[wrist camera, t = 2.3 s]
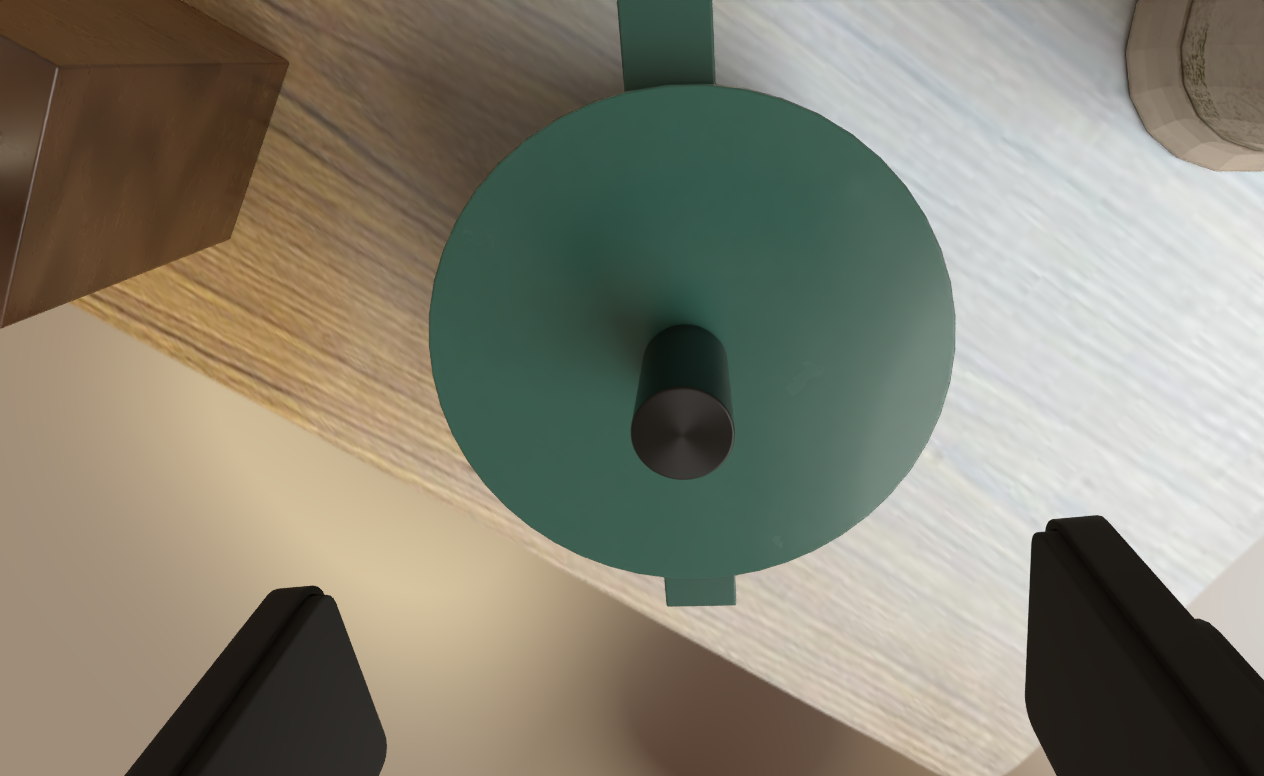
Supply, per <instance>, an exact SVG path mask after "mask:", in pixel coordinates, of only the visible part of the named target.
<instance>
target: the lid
mask: <svg viewBox="0 0 1264 776" xmlns="http://www.w3.org/2000/svg"><path fill="white" fill-rule="evenodd" d="M429 350H430V357H431V365H432V373H433V378H434V382H435V386H436V390H437V393H438V397H439V401H440V405H441V408H442V410H443V413H444V415H445V418H446V420H447V422H448V425H449V427H450V430H451V432H452V434H453V436H454V438H455V440H456V442H457V443H458V445H459V447H460V449H461V450H462V452H463V454H464V456H465V457H466V459H467V461H468V462H469V464H470V465H471V466H472V468H473V469H474V470H475V472H476V473H477V474H478V476H479V477H480V478H481V480H482V481H483V482H484V484H485V485H486V486H487V487H488V488H489V489H490V490H491V491H492V493H493V494H494V495H495V496H496V497H497V498H498V499H499V500H500V501H501V502H502V503H503V504H504V505H505V506H506V507H507V508H508V509H509V510H511V511H512V512H513V513H514V514H515V515H517V516H518V517H519V518H520V519H521V520H523V521H524V522H525V523H526V524H527V525H529V526H530V527H531V528H533V529H535V530H536V531H538V532H539V533H541V534H542V535H544V536H545V537H547V538H548V539H550V540H551V541H553V542H555V543H556V544H558V545H560V546H562V547H564V548H566V549H568V550H570V551H572V552H574V553H576V554H578V555H580V556H583V557H585V558H588V559H591V560H594V561H596V562H599V563H602V564H604V565H607V566H610V567H614V568H618V569H622V570H626V571H630V572H634V573H638V574H644V575H652V576H659V577H666V578H690V579H702V578H715V577H728V576H733V575H739V574H744V573H749V572H755V571H760V570H763V569H766V568H769V567H773V566H776V565H779V564H783V563H786V562H789V561H791V560H793V559H796V558H798V557H800V556H803V555H805V554H807V553H810V552H812V551H814V550H816V549H818V548H820V547H822V546H823V545H825V544H827V543H829V542H830V541H832V540H834V539H836V538H837V537H839V536H841V535H843V534H844V533H845V532H847V531H848V530H849V529H851V528H852V527H853V526H855V525H856V524H857V523H859V522H860V521H861V520H863V519H864V518H865V517H867V516H868V515H869V514H870V513H871V512H872V511H873V510H874V509H875V508H876V507H878V506H879V505H880V504H881V503H882V502H883V501H884V500H885V499H886V498H887V497H888V496H889V495H890V494H891V493H892V492H893V491H894V489H895V488H896V487H897V486H898V484H899V483H900V482H901V481H902V480H903V478H904V477H905V476H906V475H907V474H908V472H909V471H910V470H911V468H912V467H913V465H914V463H915V462H916V460H917V459H918V457H919V455H920V454H921V452H922V451H923V449H924V447H925V446H926V444H927V443H928V440H929V438H930V436H931V434H932V432H933V429H934V427H935V425H936V423H937V421H938V418H939V416H940V414H941V411H942V407H943V404H944V401H945V397H946V394H947V391H948V387H949V384H950V380H951V373H952V366H953V360H954V353H955V310H954V302H953V295H952V288H951V281H950V278H949V275H948V271H947V268H946V264H945V261H944V258H943V254H942V251H941V248H940V246H939V243H938V241H937V239H936V237H935V235H934V233H933V230H932V228H931V226H930V224H929V222H928V220H927V217H926V216H925V214H924V213H923V211H922V210H921V208H920V207H919V205H918V204H917V202H916V200H915V199H914V197H913V196H912V194H911V193H910V191H909V190H908V188H907V187H906V186H905V184H904V183H903V182H902V181H901V180H900V179H899V178H898V177H897V175H896V174H895V173H894V172H893V171H892V170H891V169H890V168H889V166H888V165H887V164H886V163H885V162H884V161H883V160H882V159H881V158H880V157H879V156H878V155H877V154H875V153H874V152H873V151H872V150H871V149H869V148H868V147H867V146H866V145H865V144H863V143H862V142H861V141H860V140H859V139H857V138H856V137H855V136H854V135H853V134H851V133H849V132H848V131H846V130H844V129H843V128H841V127H840V126H838V125H836V124H835V123H833V122H831V121H830V120H828V119H827V118H825V117H823V116H822V115H820V114H818V113H816V112H813V111H811V110H809V109H806V108H804V107H802V106H799V105H797V104H795V103H792V102H790V101H788V100H785V99H783V98H780V97H776V96H773V95H769V94H765V93H762V92H758V91H754V90H750V89H747V88H741V87H732V86H724V85H716V84H708V83H698V84H665V85H659V86H653V87H646V88H640V89H634V90H629V91H626V92H623V93H619V94H616V95H613V96H609V97H606V98H603V99H600V100H596V101H594V102H591V103H589V104H587V105H585V106H583V107H581V108H578V109H576V110H574V111H572V112H570V113H568V114H566V115H564V116H561V117H559V118H557V119H556V120H554V121H553V122H551V123H550V124H548V125H547V126H545V127H544V128H542V129H540V130H539V131H537V132H536V133H534V134H533V135H531V136H530V137H528V138H527V139H525V140H524V141H523V142H522V143H521V144H520V145H519V146H517V147H516V148H515V149H514V150H513V151H512V152H511V153H509V154H508V155H507V156H506V157H505V158H504V159H503V160H501V161H500V162H499V163H498V164H497V166H496V167H495V168H494V169H493V170H492V171H491V173H490V174H489V175H488V176H487V177H486V178H485V180H484V181H483V182H482V183H481V184H480V185H479V187H478V188H477V189H476V190H475V192H474V193H473V195H472V196H471V198H470V200H469V201H468V203H467V204H466V206H465V207H464V209H463V211H462V212H461V214H460V215H459V217H458V218H457V220H456V223H455V225H454V227H453V229H452V231H451V234H450V236H449V238H448V240H447V242H446V245H445V247H444V249H443V252H442V255H441V259H440V262H439V266H438V269H437V272H436V276H435V279H434V284H433V291H432V298H431V304H430V311H429Z"/></svg>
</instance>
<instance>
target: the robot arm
mask: <svg viewBox="0 0 1264 776" xmlns="http://www.w3.org/2000/svg"><path fill="white" fill-rule="evenodd" d="M1025 702H1026V709H1027V713H1028V717H1029V720H1030V723H1031V725H1032V727H1033V730H1034V732H1035V734H1036V736H1037V738H1038V740H1039V742H1040V744H1041V746H1042V748H1043V749H1044V751H1045V753H1046V756H1047V758H1048V760H1049V761H1050V763H1051V765H1052V767H1053V769H1054V771H1055V773H1056V775H1057V776H1264V680H1263V679H1262V678H1261V677H1260V676H1259V675H1258V673H1257V672H1256V671H1255V670H1254V669H1253V668H1252V667H1251V666H1250V665H1249V664H1248V662H1247V661H1246V660H1245V659H1244V658H1243V657H1242V656H1241V655H1240V654H1239V652H1238V651H1237V650H1236V649H1235V648H1234V647H1233V646H1232V645H1231V644H1230V643H1229V641H1228V640H1227V639H1226V638H1225V637H1224V636H1223V635H1222V634H1221V633H1220V632H1219V631H1218V630H1217V629H1216V628H1215V627H1213V626H1212V625H1211V624H1210V623H1209V622H1206V621H1204V620H1201V619H1194V618H1193V617H1192V616H1191V614H1190V613H1189V612H1188V611H1187V610H1186V609H1185V608H1184V606H1183V605H1182V604H1181V603H1180V602H1179V601H1178V600H1177V599H1176V597H1175V596H1174V595H1173V594H1172V593H1171V592H1170V591H1169V590H1168V588H1167V587H1166V586H1165V585H1164V584H1163V583H1162V582H1161V581H1160V579H1159V578H1158V577H1157V576H1156V575H1155V574H1154V573H1153V572H1152V570H1151V569H1150V568H1149V567H1148V566H1147V565H1146V564H1145V562H1144V561H1143V560H1142V559H1141V558H1140V557H1139V556H1138V555H1137V553H1136V552H1135V551H1134V550H1133V549H1132V548H1131V547H1130V546H1129V544H1128V543H1127V542H1126V541H1125V540H1124V539H1123V538H1122V537H1121V535H1120V534H1119V533H1118V532H1117V531H1116V530H1115V529H1114V528H1113V526H1112V525H1111V524H1110V523H1109V522H1108V521H1107V520H1106V519H1105V518H1104V517H1102V516H1098V515H1095V516H1083V517H1072V518H1061V519H1052V520H1050V521H1048V524H1047V526H1046V530H1045V532H1037V533H1035V534H1034V535H1033V537H1032V544H1031V566H1030V590H1029V613H1028V636H1027V659H1026V682H1025ZM386 750H387V744H386V737H385V733H384V730H383V728H382V725H381V722H380V720H379V717H378V714H377V712H376V709H375V706H374V704H373V701H372V698H371V695H370V693H369V690H368V687H367V685H366V682H365V680H364V677H363V674H362V671H361V669H360V666H359V663H358V660H357V658H356V655H355V653H354V650H353V647H352V645H351V642H350V639H349V636H348V634H347V631H346V628H345V626H344V623H343V620H342V618H341V615H340V612H339V610H338V607H337V604H336V602H335V600H334V598H332V597H331V596H329V595H324V593H323V591H322V590H321V589H320V588H319V587H316V586H303V587H292V588H280V589H276V590H273V591H272V592H270V593H269V594H268V595H267V596H266V598H265V599H264V600H263V601H262V603H261V604H260V605H259V607H258V608H257V609H256V610H255V612H254V613H253V614H252V615H251V617H250V618H249V619H248V620H247V622H246V623H245V624H244V626H243V627H242V628H241V629H240V630H239V632H238V633H237V634H236V635H235V637H234V638H233V639H232V641H231V642H230V643H229V644H228V646H227V647H226V648H225V649H224V651H223V652H222V653H221V654H220V656H219V657H218V658H217V659H216V661H215V662H214V663H213V665H212V666H211V667H210V668H209V670H208V671H207V672H206V673H205V675H204V676H203V677H202V678H201V680H200V681H199V682H198V684H197V685H196V686H195V687H194V688H193V690H192V691H191V692H190V694H189V695H188V696H187V697H186V699H185V700H184V701H183V702H182V704H181V705H180V706H179V708H178V709H177V710H176V711H175V713H174V714H173V715H172V716H171V717H170V719H169V720H168V721H167V723H166V724H165V725H164V726H163V728H162V729H161V730H160V731H159V733H158V734H157V735H156V736H155V738H154V739H153V740H152V742H151V743H150V744H149V745H148V747H147V748H146V749H145V750H144V752H143V753H142V754H141V755H140V757H139V758H138V759H137V760H136V762H135V763H134V764H133V765H132V767H131V768H130V770H128V772H127V773H126V774H125V776H379V774H380V772H381V769H382V767H383V764H384V762H385V758H386Z"/></svg>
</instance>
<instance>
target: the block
mask: <svg viewBox="0 0 1264 776" xmlns="http://www.w3.org/2000/svg"><path fill="white" fill-rule="evenodd" d="M288 65H289V63H288V62H287V61H285V60H284V59H282V58H280V57H278V56H277V55H275V54H273V53H271V52H270V51H268V50H266V49H264V48H263V47H261V46H259V45H257V44H256V43H254V42H252V41H250V40H249V39H247V38H245V37H243V36H242V35H240V34H238V33H236V32H235V31H233V30H231V29H229V28H227V27H226V26H224V25H222V24H220V23H219V22H217V21H215V20H213V19H212V18H210V17H208V16H206V15H205V14H203V13H201V12H199V11H198V10H196V9H194V8H192V7H191V6H189V5H187V4H185V3H184V2H182V1H180V0H0V328H4V327H6V326H9V325H12V324H14V323H17V322H19V321H22V320H24V319H27V318H29V317H32V316H35V315H37V314H40V313H42V312H45V311H47V310H50V309H52V308H55V307H58V306H60V305H63V304H65V303H68V302H70V301H73V300H76V299H78V298H81V297H83V296H86V295H88V294H91V293H93V292H96V291H99V290H101V289H104V288H106V287H109V286H111V285H114V284H116V283H119V282H122V281H124V280H127V279H129V278H132V277H134V276H137V275H139V274H142V273H144V272H147V271H150V270H152V269H155V268H157V267H160V266H162V265H165V264H167V263H170V262H173V261H175V260H178V259H180V258H183V257H185V256H188V255H190V254H193V253H196V252H198V251H201V250H203V249H206V248H208V247H211V246H213V245H216V244H219V243H221V242H224V241H226V240H229V239H230V237H231V234H232V231H233V228H234V225H235V222H236V219H237V216H238V213H239V210H240V207H241V204H242V201H243V198H244V195H245V193H246V190H247V187H248V184H249V181H250V178H251V175H252V172H253V169H254V166H255V163H256V160H257V157H258V154H259V151H260V148H261V145H262V142H263V139H264V136H265V133H266V130H267V128H268V125H269V122H270V119H271V116H272V113H273V110H274V107H275V104H276V101H277V98H278V95H279V92H280V89H281V86H282V83H283V80H284V77H285V74H286V71H287V68H288Z"/></svg>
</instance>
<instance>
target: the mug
mask: <svg viewBox="0 0 1264 776" xmlns="http://www.w3.org/2000/svg"><path fill="white" fill-rule="evenodd" d="M1126 58H1127V69H1128V81H1129V92H1130V97H1131V99H1132V101H1133V103H1134V105H1135V107H1136V109H1137V111H1138V113H1139V115H1140V118H1141V120H1142V122H1143V124H1144V126H1145V128H1146V130H1147V132H1148V133H1149V134H1151V135H1152V136H1153V137H1154V138H1155V139H1156V140H1157V141H1158V142H1160V143H1161V144H1162V145H1163V146H1164V147H1165V148H1166V149H1167V150H1169V151H1170V152H1171V153H1172V154H1173V155H1174V156H1175V157H1177V158H1180V159H1182V160H1185V161H1188V162H1191V163H1194V164H1197V165H1200V166H1202V167H1205V168H1208V169H1211V170H1214V171H1264V0H1138V1H1137V4H1136V8H1135V13H1134V17H1133V22H1132V26H1131V31H1130V35H1129V40H1128V44H1127V49H1126Z"/></svg>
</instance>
